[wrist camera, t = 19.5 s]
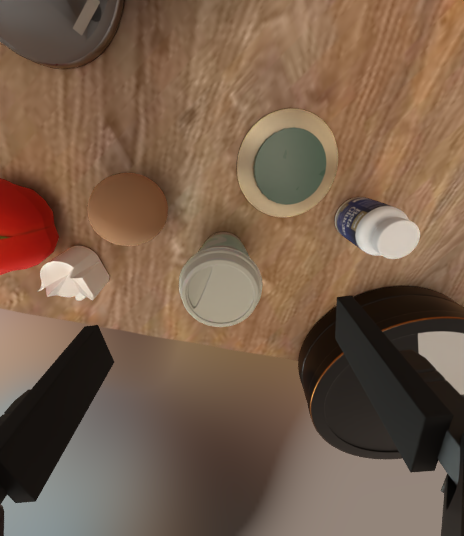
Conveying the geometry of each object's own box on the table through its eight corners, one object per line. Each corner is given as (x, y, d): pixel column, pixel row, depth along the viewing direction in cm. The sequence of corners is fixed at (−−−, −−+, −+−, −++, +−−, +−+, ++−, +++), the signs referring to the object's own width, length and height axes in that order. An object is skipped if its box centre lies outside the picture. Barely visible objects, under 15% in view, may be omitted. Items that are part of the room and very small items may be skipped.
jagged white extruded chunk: (70, 297, 38) (41, 326, 32) (39, 261, 35) (1, 285, 29) (114, 278, 37) (93, 305, 31) (86, 239, 34) (56, 260, 28)
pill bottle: (335, 197, 32) (376, 213, 23) (378, 195, 32) (435, 210, 23) (331, 238, 34) (366, 267, 25) (371, 235, 34) (420, 264, 25)
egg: (120, 229, 34) (73, 260, 24) (111, 169, 31) (53, 175, 21) (177, 231, 34) (154, 263, 24) (173, 171, 31) (145, 178, 21)
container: (271, 409, 34) (263, 356, 43) (379, 490, 42) (354, 432, 51) (484, 279, 26) (419, 247, 34) (565, 413, 34) (496, 359, 43)
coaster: (230, 117, 28) (230, 116, 28) (338, 102, 28) (341, 100, 27) (241, 221, 33) (242, 222, 32) (333, 210, 33) (335, 211, 32)
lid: (320, 199, 31) (325, 201, 30) (255, 206, 32) (256, 208, 30) (323, 124, 28) (329, 122, 26) (250, 132, 28) (251, 131, 27)
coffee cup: (230, 208, 33) (230, 235, 22) (265, 258, 35) (281, 304, 24) (180, 244, 35) (156, 286, 24) (217, 289, 37) (211, 344, 26)
